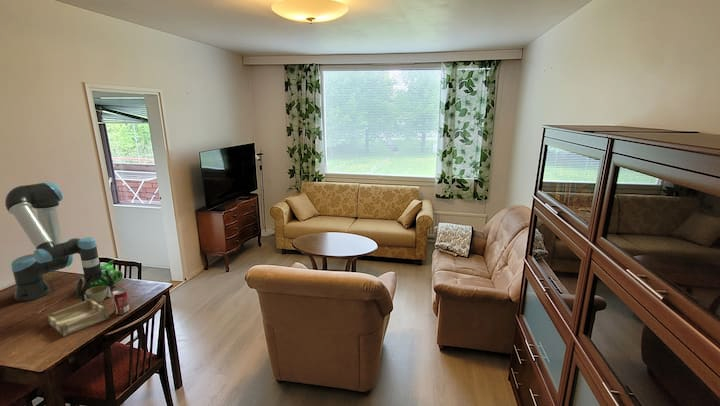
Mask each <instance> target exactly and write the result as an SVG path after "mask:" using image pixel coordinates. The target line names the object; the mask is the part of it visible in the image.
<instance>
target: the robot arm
mask: <svg viewBox="0 0 720 406" xmlns="http://www.w3.org/2000/svg"><path fill="white" fill-rule="evenodd" d="M63 197H64V196H63V193H62V190H61V189H60V187H59V186H58V185H57V184H56V183H55V182H50V181H49V182H40V183H32V184H26V185H20V186H16V187H14V188H12V189H11V190H10V191H9V192H8V193H7V195H6V196H5V205H4V206H5V207H6V210H7V211H8V213H9V215H10V214H11V215H13V217H14V218H15V219H16V221H17V222H18V224H19V225H20V227H21V228H22V230H23V231H24V233H25V234H26V236H27V237H28V239H29V240H30V242H31V244H32V245H33V246H34V248H35V250H34V251H33V253H30V254H25V255H23V256H19V257H17V258H16V259H14V260H13V261H11V272H12V275H13V277H14V282H15V291H14V299H15V301H17V302H26V301H32V300H36V299H40V298H42V297H45V296H47V294H49V293H51V287H50V286H49V284H48V283H47V282H46V280H45V279H44V275H45V274H50V273H52V272H55V271H59V270H63V269H65V268H67V267H69V266H71V265H72V264H73V260H74V255H75V254H79V255H80V260H81V266H82V270H83V276H82V277H77V284H76V291H75V296H76V297H80V301H81V302H84V301H87V300H88V298H87V297H86V295H85V292H86V290H88V289H89V284H90V283H91V282H94V281H96V280H98V279H100V280H101V281H102V282H104V283H105V284H106V285H108V286H106V287H107V293H106V296H107V297H108V298H112V297H111V296H112V293H111V292H113V289H112V288H113V285H115V282H114V281H113V279H112V278H111V277H110V275H109V274H108V270H106V269H104V270H103V271H101V268H100V265H101V264H100V259H99V254H98V248H97V247H98V246H97V243H96V239H95V238H94V237H91V236H90V237H89V236H88V237H83V238H77V237H72V238H70V239H67V241H65V242H63V237H62V233H61V226H60V221H59V215H58V210H57V208H58V207H59V206H60V202H61V201H62V200H63ZM32 208H33V209H35V210H36V213H37V215H36V213H35V212H34V210H33V209H32ZM102 273H103V274H105V276H106V277H107V278H108V280H109V281H110V283H108V282H107V281H106V280H104V279H103V278H102V277H101V275H102ZM84 279H86V281H85V280H84ZM83 282H84V284H83Z"/></svg>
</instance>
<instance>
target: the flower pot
mask: <svg viewBox="0 0 720 406" xmlns="http://www.w3.org/2000/svg"><path fill="white" fill-rule="evenodd" d="M85 295H86V297H87V300H88V299H90V298H91V299H92V300H93V301H95V302H96V303H98V304H100V303H102V302H103V301H104V300H105V298H106V296H107V287H106V286H97V287H93V288H87V290H86V292H85Z"/></svg>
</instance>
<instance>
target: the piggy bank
mask: <svg viewBox="0 0 720 406" xmlns="http://www.w3.org/2000/svg"><path fill="white" fill-rule="evenodd" d="M113 264H114V259H111V260H110V261H108V262H107V263H105V264H100V268H101V271H103V270H104V269H106V270H108V274H109V275H110V277H111V278H112V279H113V281H114V282H115V284H117V283H118V282H121V280H122V279H123V277H124V274H123V272H122V270H116V268H115V267H114V266H113ZM101 277H102V278H103V279H104V280H106V281H107V282H108V283H110V281H109V280H108V278H107V277H106V276H105V274H103V273H102V275H101ZM85 281H86V279H84V282H85ZM115 284H114V285H115ZM97 286H108V285H106V284H105V283H104V282H102V281H101V280H100V279H98V280H96V281H94V282H91V283H90V284H89V286H88V289H90V288H93V287H97Z"/></svg>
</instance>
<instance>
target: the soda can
mask: <svg viewBox="0 0 720 406" xmlns="http://www.w3.org/2000/svg"><path fill="white" fill-rule="evenodd" d="M110 298H111V302H112V307H113V313H114V314H115V315H123V314H125V313H127V312H128V311H130V304H129V297H128V293H127V291H125V289H123V288H121V289H116V290H113V291H112V293H111V297H110Z"/></svg>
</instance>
